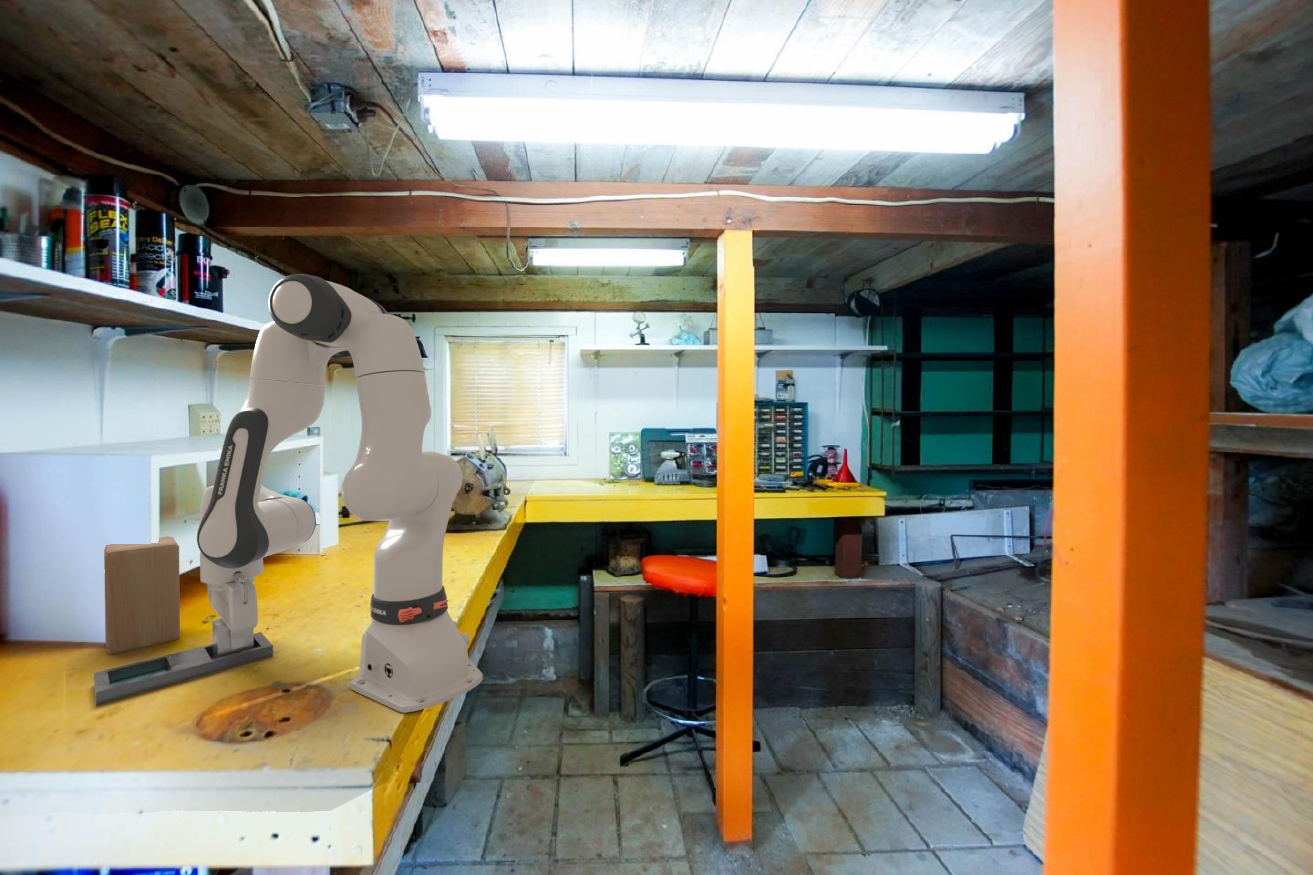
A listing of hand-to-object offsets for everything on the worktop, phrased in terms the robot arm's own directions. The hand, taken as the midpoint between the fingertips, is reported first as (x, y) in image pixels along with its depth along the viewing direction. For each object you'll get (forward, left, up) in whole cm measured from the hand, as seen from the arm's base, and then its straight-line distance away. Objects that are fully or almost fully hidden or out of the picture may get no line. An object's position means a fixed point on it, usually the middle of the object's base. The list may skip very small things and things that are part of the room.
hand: (233, 641), depth 92 cm
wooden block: (+23, +10, -4) cm, 25 cm away
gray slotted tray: (0, +6, -4) cm, 7 cm away
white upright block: (0, 0, -3) cm, 3 cm away
